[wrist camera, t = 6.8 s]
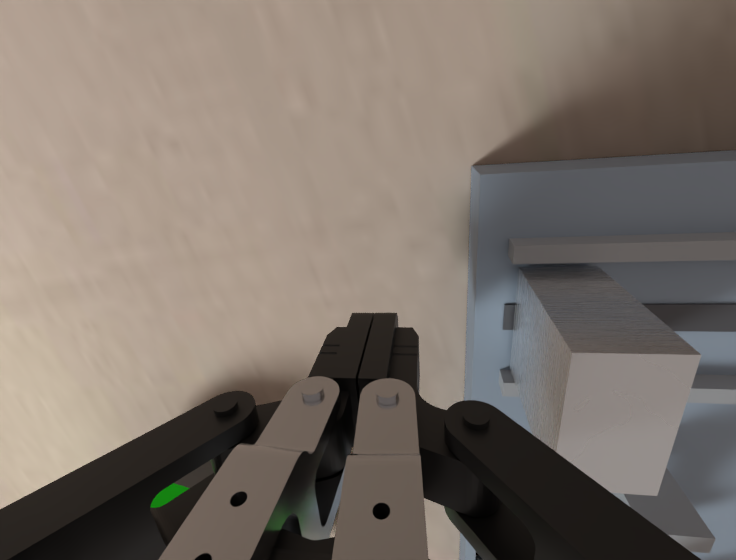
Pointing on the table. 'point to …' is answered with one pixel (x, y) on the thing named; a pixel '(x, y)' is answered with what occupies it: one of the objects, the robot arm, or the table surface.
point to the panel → (642, 280)
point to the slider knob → (599, 375)
